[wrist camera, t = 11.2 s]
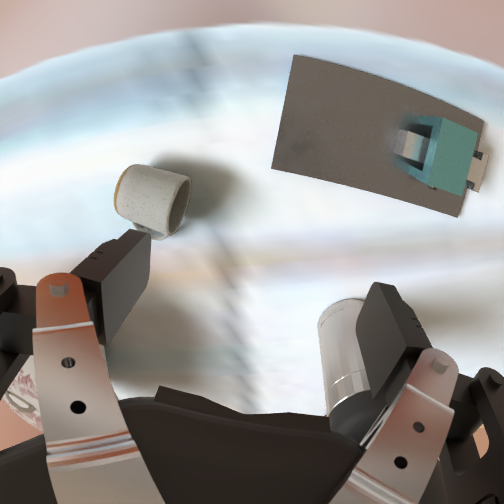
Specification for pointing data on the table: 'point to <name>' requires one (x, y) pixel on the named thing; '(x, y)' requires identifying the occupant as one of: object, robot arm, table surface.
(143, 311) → the table surface
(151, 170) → the ceramic mug
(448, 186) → the block
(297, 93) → the base
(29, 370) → the chamber pot
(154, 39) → the table surface
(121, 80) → the table surface
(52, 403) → the robot arm
